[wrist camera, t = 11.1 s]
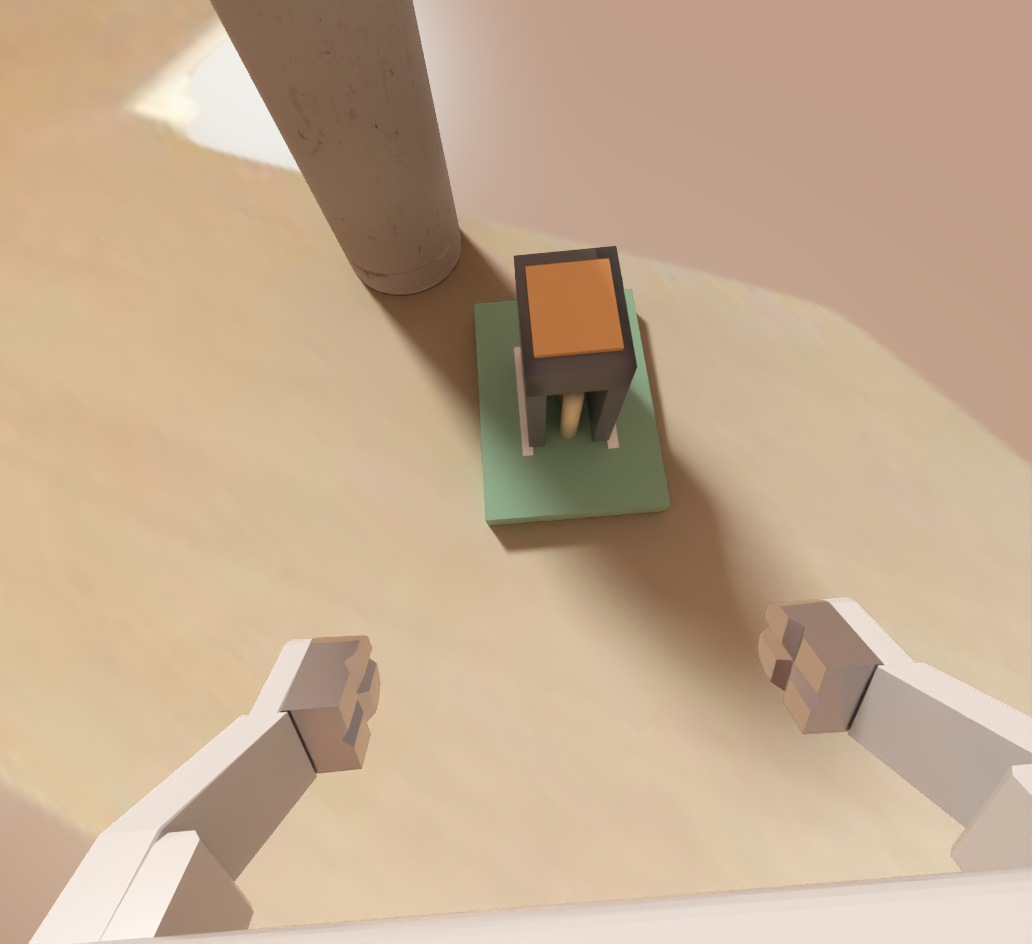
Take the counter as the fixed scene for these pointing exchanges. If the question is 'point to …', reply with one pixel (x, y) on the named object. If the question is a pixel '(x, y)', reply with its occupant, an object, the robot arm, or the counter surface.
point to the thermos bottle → (357, 128)
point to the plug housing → (574, 335)
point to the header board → (561, 438)
